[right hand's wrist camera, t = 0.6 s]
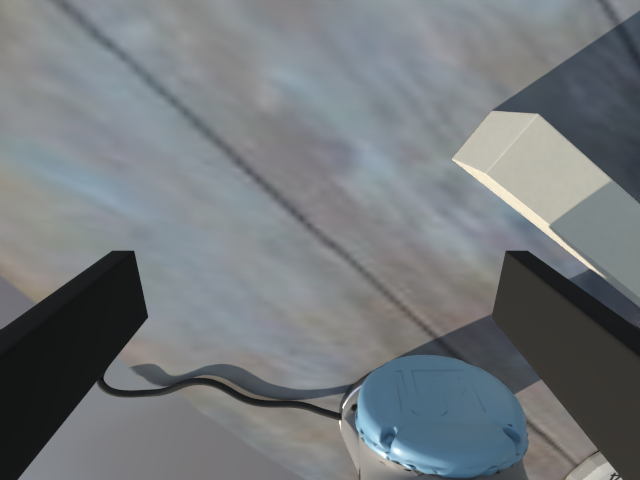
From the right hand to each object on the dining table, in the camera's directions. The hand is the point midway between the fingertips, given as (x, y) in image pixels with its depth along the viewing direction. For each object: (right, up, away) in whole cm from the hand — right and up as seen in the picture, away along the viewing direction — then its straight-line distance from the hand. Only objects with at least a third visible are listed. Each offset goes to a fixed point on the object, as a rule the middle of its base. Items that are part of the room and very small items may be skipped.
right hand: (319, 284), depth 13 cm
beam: (+37, -2, +28) cm, 46 cm away
